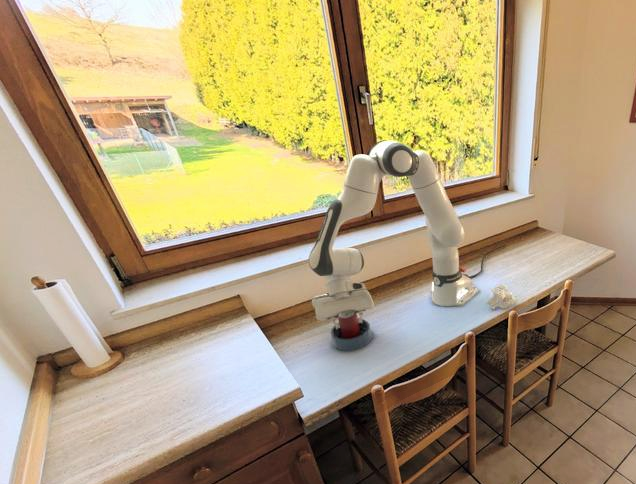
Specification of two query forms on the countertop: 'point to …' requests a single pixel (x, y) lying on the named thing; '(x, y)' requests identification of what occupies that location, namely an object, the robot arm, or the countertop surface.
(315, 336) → the countertop surface
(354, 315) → the can
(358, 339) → the bowl
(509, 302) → the white irregular lump
